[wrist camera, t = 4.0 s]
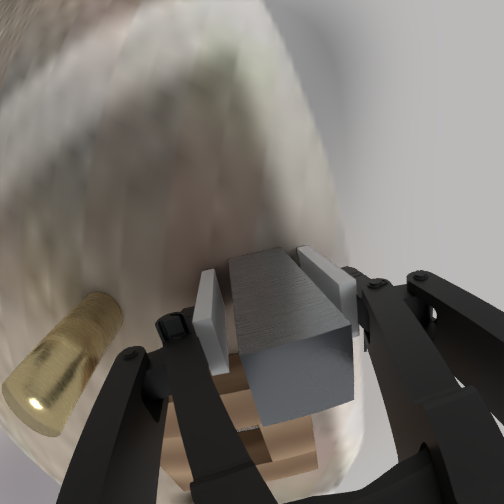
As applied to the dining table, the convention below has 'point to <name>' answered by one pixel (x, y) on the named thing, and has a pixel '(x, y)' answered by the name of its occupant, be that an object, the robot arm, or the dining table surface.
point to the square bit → (289, 338)
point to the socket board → (245, 434)
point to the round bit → (62, 365)
